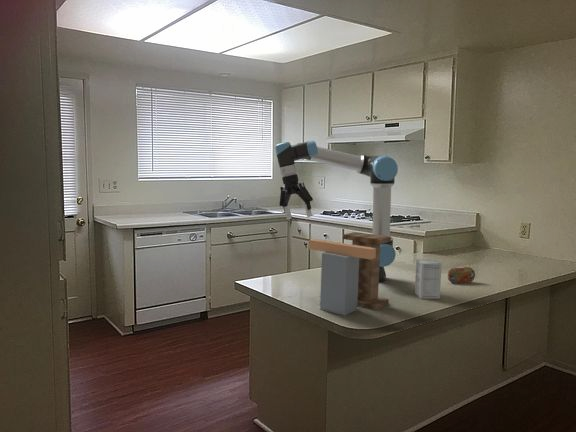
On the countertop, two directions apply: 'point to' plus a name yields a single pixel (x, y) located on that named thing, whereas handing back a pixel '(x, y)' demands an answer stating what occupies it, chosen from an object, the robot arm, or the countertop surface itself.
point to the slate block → (339, 283)
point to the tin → (461, 275)
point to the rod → (343, 249)
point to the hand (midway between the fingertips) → (299, 218)
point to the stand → (369, 270)
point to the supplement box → (428, 278)
